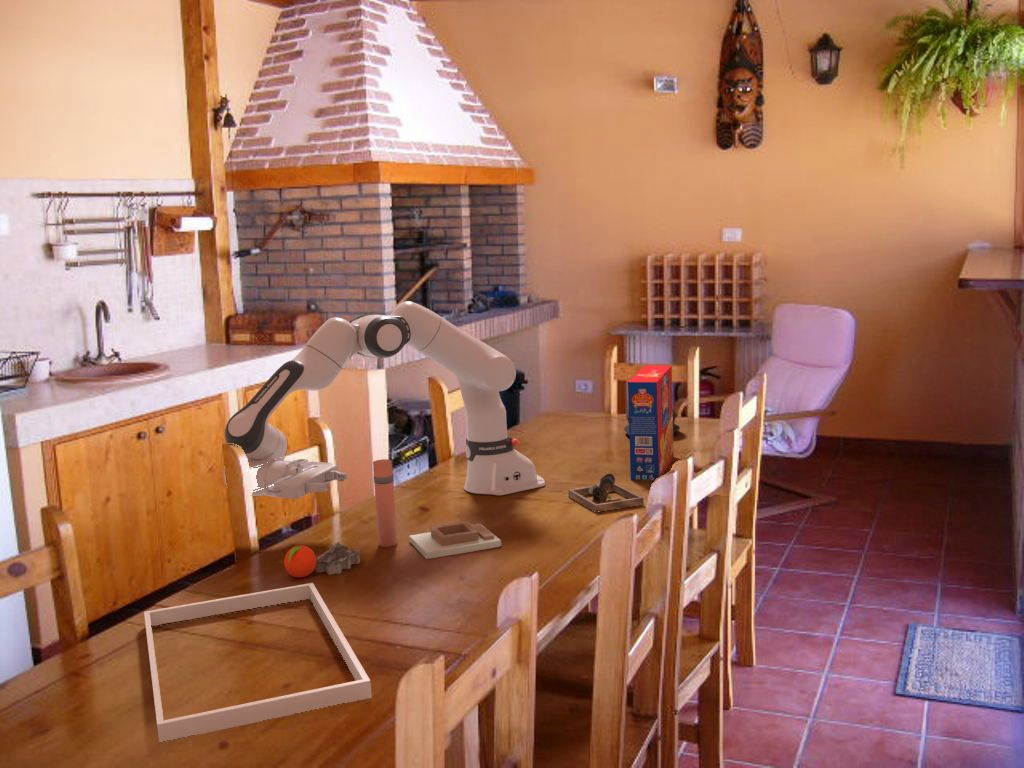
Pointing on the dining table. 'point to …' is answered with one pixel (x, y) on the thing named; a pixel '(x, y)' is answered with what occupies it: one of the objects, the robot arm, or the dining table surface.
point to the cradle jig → (454, 540)
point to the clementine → (300, 561)
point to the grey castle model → (330, 557)
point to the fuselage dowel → (385, 502)
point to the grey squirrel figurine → (603, 487)
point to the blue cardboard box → (650, 422)
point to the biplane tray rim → (261, 708)
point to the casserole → (675, 427)
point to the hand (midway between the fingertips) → (336, 482)
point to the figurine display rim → (630, 502)
